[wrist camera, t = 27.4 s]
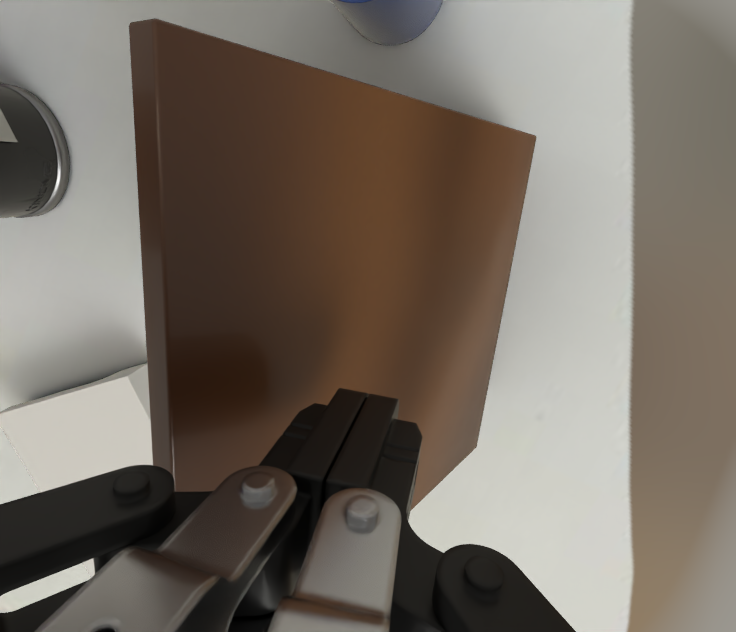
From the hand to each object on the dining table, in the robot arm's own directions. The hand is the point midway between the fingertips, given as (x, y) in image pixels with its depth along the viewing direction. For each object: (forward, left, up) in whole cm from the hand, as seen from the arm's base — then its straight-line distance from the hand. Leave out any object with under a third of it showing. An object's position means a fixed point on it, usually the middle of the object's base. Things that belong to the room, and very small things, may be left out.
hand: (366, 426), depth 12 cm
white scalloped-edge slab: (-9, -32, -21) cm, 39 cm away
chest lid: (0, 0, -6) cm, 6 cm away
